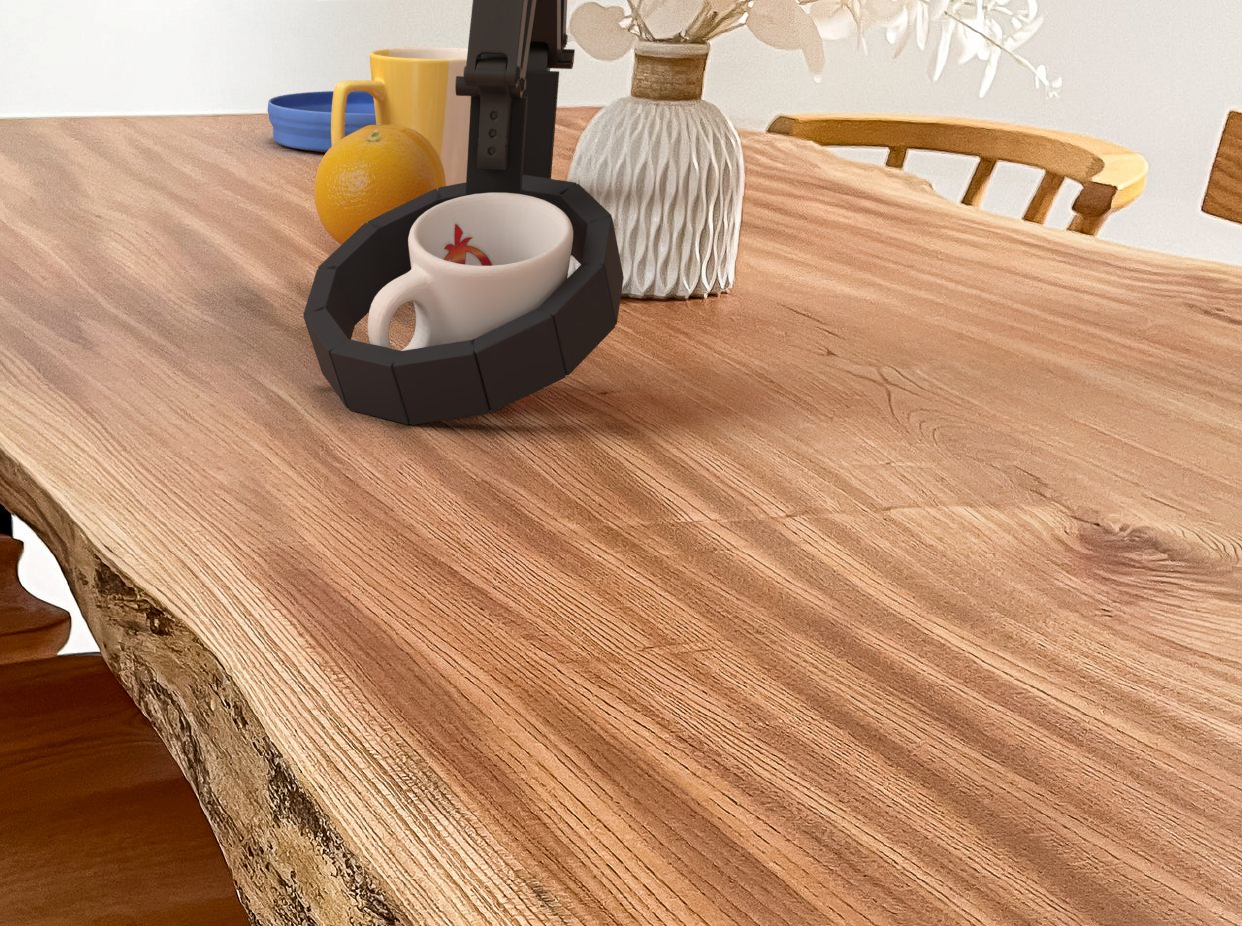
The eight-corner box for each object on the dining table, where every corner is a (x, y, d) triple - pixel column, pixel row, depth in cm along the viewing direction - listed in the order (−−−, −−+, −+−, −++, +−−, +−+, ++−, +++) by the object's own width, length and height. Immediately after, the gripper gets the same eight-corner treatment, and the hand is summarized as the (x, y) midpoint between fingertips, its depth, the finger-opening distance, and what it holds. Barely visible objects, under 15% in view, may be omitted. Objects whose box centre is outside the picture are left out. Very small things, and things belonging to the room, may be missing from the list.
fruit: (308, 261, 131) (311, 132, 127) (318, 239, 138) (321, 116, 134) (440, 265, 130) (447, 135, 126) (443, 242, 137) (450, 118, 133)
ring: (633, 213, 101) (622, 151, 99) (606, 397, 92) (593, 334, 90) (353, 263, 107) (335, 206, 104) (301, 441, 98) (281, 383, 95)
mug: (472, 186, 157) (480, 43, 152) (515, 208, 149) (525, 57, 143) (308, 192, 155) (311, 47, 149) (342, 215, 146) (346, 61, 141)
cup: (415, 455, 96) (411, 304, 90) (336, 385, 101) (328, 238, 95) (598, 387, 99) (606, 236, 93) (512, 322, 104) (515, 175, 98)
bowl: (471, 158, 170) (474, 114, 168) (265, 157, 170) (265, 113, 168) (457, 130, 185) (460, 89, 183) (268, 128, 186) (269, 88, 184)
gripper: (501, -270, 102) (475, 180, 114) (415, -289, 83) (394, 254, 95) (646, -271, 100) (604, 186, 112) (591, -291, 81) (548, 262, 93)
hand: (508, 217), depth 103 cm, fingers open, 11 cm apart
